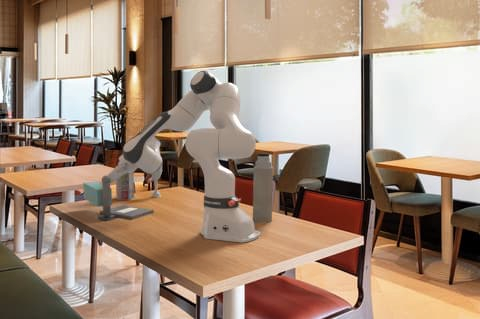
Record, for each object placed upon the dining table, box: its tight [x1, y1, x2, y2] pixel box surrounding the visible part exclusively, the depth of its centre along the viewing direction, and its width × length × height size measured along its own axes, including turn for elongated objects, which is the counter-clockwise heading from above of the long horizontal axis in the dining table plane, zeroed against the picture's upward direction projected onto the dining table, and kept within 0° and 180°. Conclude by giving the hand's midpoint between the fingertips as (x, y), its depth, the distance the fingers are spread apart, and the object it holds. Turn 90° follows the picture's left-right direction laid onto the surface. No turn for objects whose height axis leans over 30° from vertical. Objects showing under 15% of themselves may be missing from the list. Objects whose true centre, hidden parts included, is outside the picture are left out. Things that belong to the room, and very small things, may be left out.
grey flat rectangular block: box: [99, 204, 155, 220], centre depth 207 cm, size 18×14×1 cm
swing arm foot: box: [97, 214, 117, 222], centre depth 197 cm, size 5×5×1 cm
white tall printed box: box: [115, 159, 135, 201], centre depth 237 cm, size 7×7×22 cm
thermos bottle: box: [252, 152, 274, 223], centre depth 198 cm, size 8×8×28 cm
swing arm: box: [82, 175, 113, 217], centre depth 204 cm, size 24×6×17 cm, turn 34°
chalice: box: [151, 160, 164, 199], centre depth 243 cm, size 7×7×18 cm
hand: (106, 184), depth 210 cm, fingers closed
